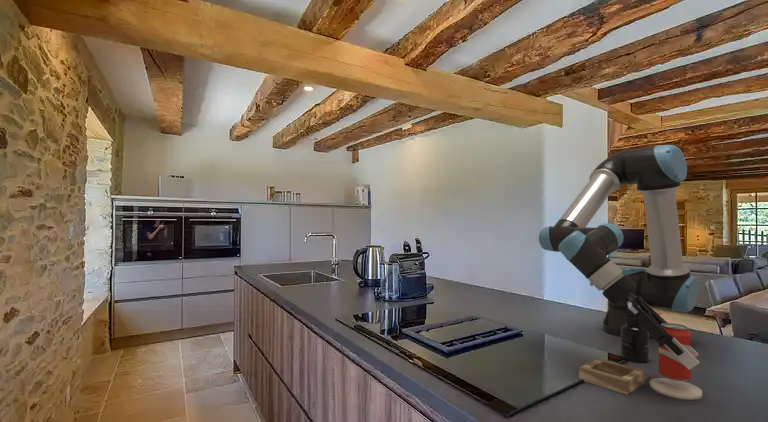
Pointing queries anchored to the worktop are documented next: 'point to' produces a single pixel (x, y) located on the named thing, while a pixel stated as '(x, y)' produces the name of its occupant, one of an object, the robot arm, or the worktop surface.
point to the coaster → (676, 389)
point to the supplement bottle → (634, 341)
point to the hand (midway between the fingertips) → (693, 361)
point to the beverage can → (667, 361)
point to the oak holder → (612, 375)
